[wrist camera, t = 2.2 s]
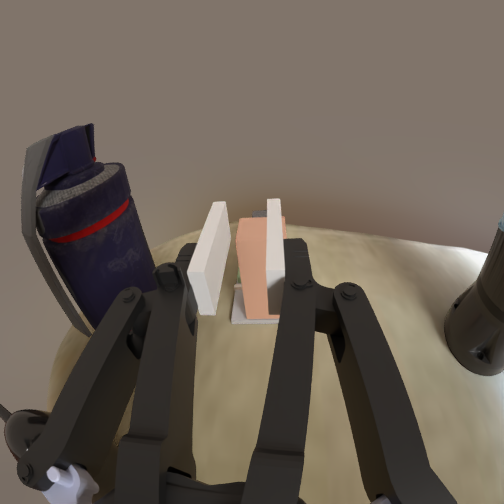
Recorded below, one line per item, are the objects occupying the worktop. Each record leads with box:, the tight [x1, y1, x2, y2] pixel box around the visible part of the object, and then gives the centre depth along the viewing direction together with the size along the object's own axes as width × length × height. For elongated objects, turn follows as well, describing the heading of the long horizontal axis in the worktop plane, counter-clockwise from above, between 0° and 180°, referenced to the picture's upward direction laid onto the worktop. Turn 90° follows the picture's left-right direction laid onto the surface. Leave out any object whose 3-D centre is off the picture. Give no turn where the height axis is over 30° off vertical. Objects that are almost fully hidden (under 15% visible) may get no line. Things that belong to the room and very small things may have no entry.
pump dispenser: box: [0, 404, 118, 504], centre depth 15 cm, size 10×10×15 cm
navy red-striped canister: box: [21, 123, 157, 337], centre depth 28 cm, size 14×12×30 cm
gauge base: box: [231, 268, 279, 324], centre depth 43 cm, size 10×15×2 cm, turn 177°
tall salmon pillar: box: [234, 216, 287, 319], centre depth 35 cm, size 10×5×13 cm, turn 87°
